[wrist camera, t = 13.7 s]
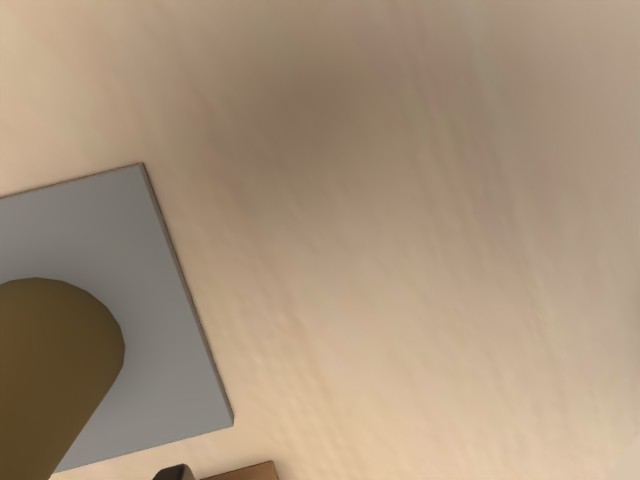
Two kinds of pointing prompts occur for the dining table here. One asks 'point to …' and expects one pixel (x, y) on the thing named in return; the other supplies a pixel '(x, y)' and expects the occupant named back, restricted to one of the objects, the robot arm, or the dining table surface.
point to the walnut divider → (250, 473)
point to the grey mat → (121, 306)
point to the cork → (51, 371)
